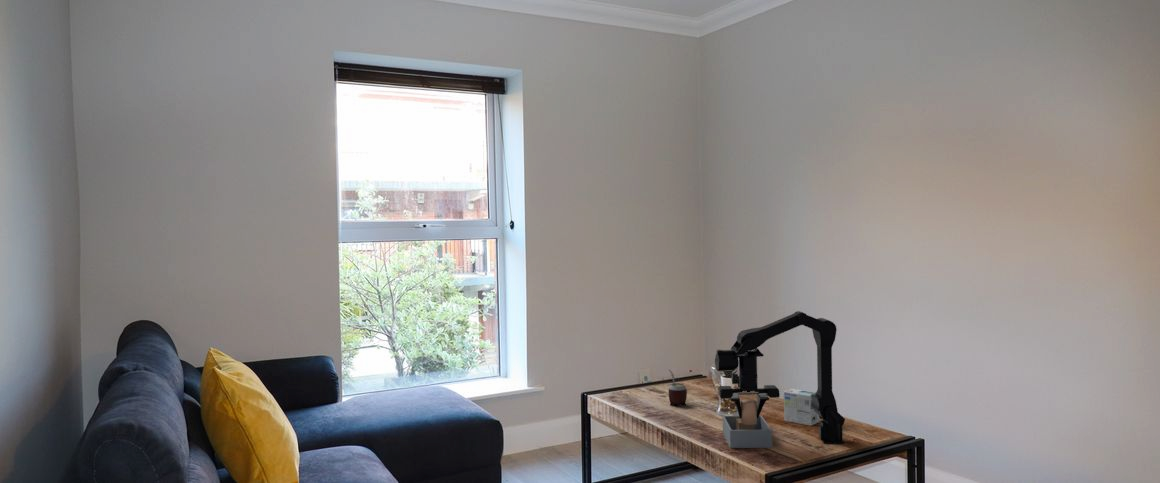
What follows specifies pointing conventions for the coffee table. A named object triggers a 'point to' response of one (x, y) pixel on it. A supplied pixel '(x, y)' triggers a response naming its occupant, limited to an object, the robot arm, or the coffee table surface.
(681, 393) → the mate gourd
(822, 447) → the coffee table surface
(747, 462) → the coffee table surface
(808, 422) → the light bulb box
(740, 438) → the box
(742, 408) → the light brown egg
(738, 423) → the walnut cube
